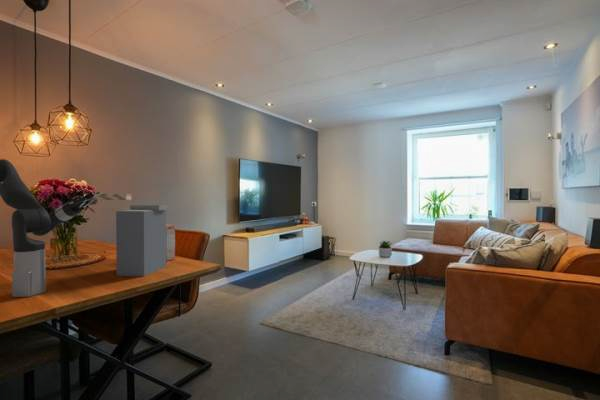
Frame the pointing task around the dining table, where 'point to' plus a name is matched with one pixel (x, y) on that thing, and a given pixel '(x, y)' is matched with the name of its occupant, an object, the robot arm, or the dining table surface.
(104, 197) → the striped beige bar
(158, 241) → the chute stand
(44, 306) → the dining table surface
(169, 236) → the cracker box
